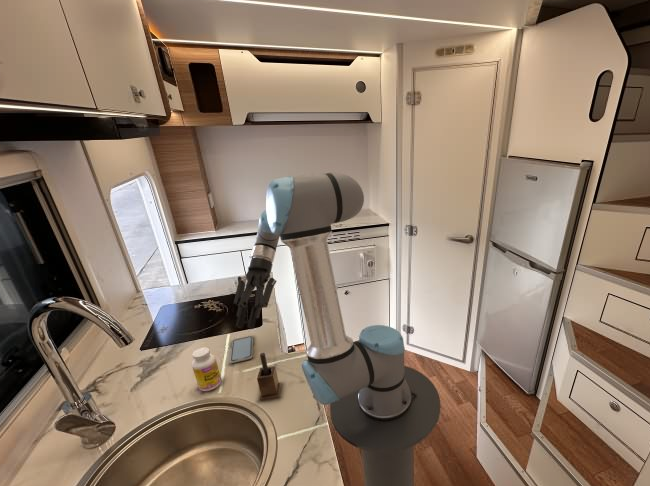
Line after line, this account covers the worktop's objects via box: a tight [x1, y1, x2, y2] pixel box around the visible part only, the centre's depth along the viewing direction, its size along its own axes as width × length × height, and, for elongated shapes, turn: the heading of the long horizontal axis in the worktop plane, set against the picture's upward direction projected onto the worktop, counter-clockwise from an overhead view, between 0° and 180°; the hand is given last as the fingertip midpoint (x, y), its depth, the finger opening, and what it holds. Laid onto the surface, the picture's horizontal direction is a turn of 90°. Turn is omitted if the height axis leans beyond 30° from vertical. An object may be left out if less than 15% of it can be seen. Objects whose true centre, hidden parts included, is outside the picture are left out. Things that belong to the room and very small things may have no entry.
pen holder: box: [256, 365, 282, 402], centre depth 96 cm, size 6×6×8 cm
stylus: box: [259, 352, 269, 376], centre depth 95 cm, size 1×1×14 cm
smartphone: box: [229, 335, 254, 364], centre depth 119 cm, size 7×1×15 cm
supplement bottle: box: [191, 347, 222, 392], centre depth 100 cm, size 7×7×13 cm
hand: (244, 327), depth 102 cm, fingers open, 3 cm apart
